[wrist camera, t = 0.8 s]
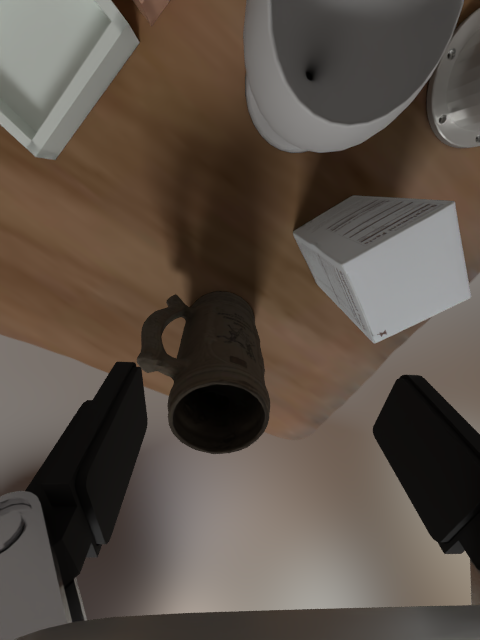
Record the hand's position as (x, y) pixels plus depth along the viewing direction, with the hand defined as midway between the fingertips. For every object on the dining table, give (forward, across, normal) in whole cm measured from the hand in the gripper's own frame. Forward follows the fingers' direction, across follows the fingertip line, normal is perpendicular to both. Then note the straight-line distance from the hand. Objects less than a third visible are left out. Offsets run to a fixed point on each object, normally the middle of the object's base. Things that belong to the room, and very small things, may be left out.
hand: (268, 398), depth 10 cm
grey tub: (+29, +21, -17) cm, 40 cm away
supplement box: (+30, -13, 0) cm, 33 cm away
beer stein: (+29, +4, +12) cm, 32 cm away
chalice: (+30, -5, -17) cm, 35 cm away
